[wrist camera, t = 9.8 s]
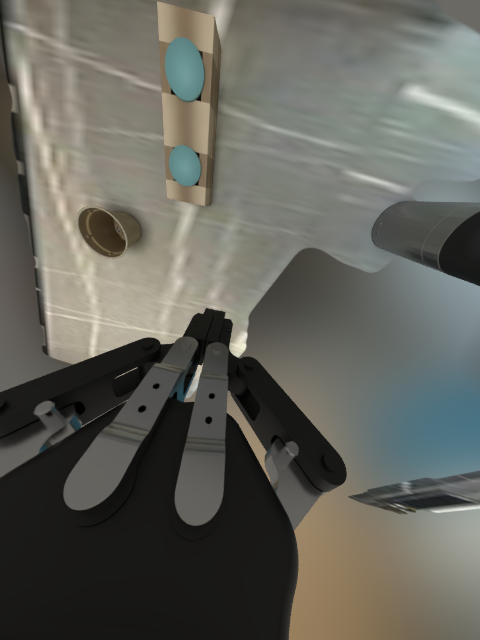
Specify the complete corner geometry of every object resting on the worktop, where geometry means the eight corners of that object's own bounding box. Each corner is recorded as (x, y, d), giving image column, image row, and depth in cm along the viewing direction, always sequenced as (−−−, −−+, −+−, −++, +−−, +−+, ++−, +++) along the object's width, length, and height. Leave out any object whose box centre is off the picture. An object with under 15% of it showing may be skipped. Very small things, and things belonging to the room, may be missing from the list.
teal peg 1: (213, 72, 28) (204, 42, 23) (211, 120, 31) (202, 103, 26) (180, 64, 28) (163, 32, 22) (181, 113, 31) (166, 95, 25)
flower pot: (130, 256, 45) (107, 267, 38) (98, 219, 41) (65, 223, 34) (156, 236, 42) (137, 244, 35) (125, 194, 38) (96, 194, 31)
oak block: (221, 49, 27) (214, 16, 22) (210, 205, 38) (204, 205, 33) (174, 38, 26) (157, 1, 22) (178, 198, 38) (167, 198, 33)
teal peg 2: (209, 157, 34) (200, 149, 28) (207, 190, 37) (199, 189, 31) (181, 150, 33) (168, 141, 28) (181, 185, 36) (169, 182, 31)
